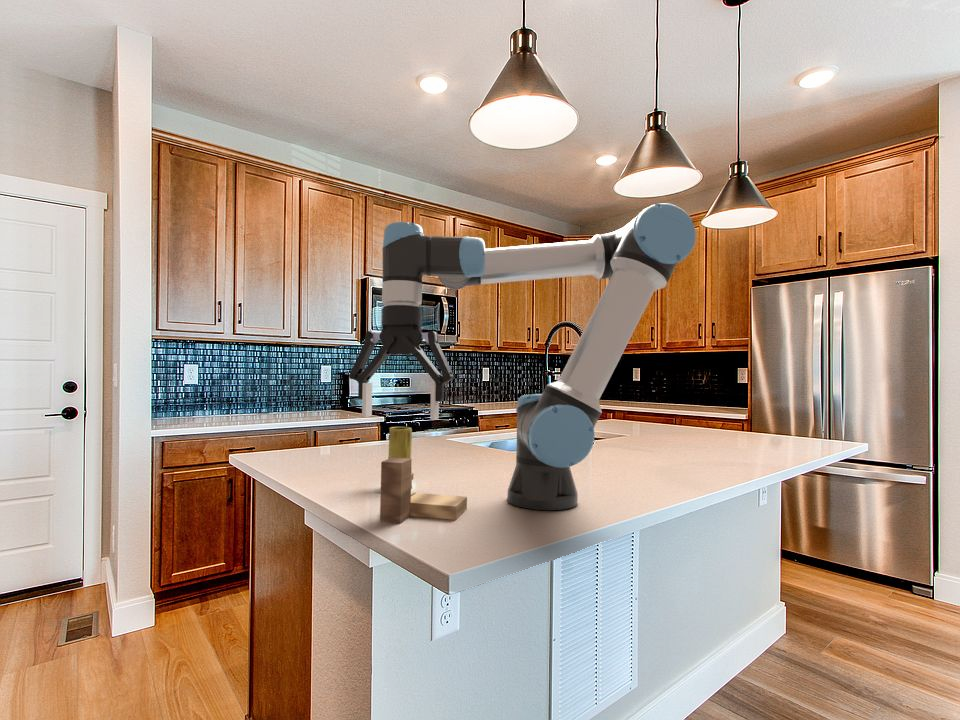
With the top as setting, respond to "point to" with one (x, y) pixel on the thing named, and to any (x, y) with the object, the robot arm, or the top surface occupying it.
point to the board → (437, 505)
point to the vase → (400, 443)
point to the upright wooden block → (395, 490)
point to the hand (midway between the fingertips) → (400, 418)
